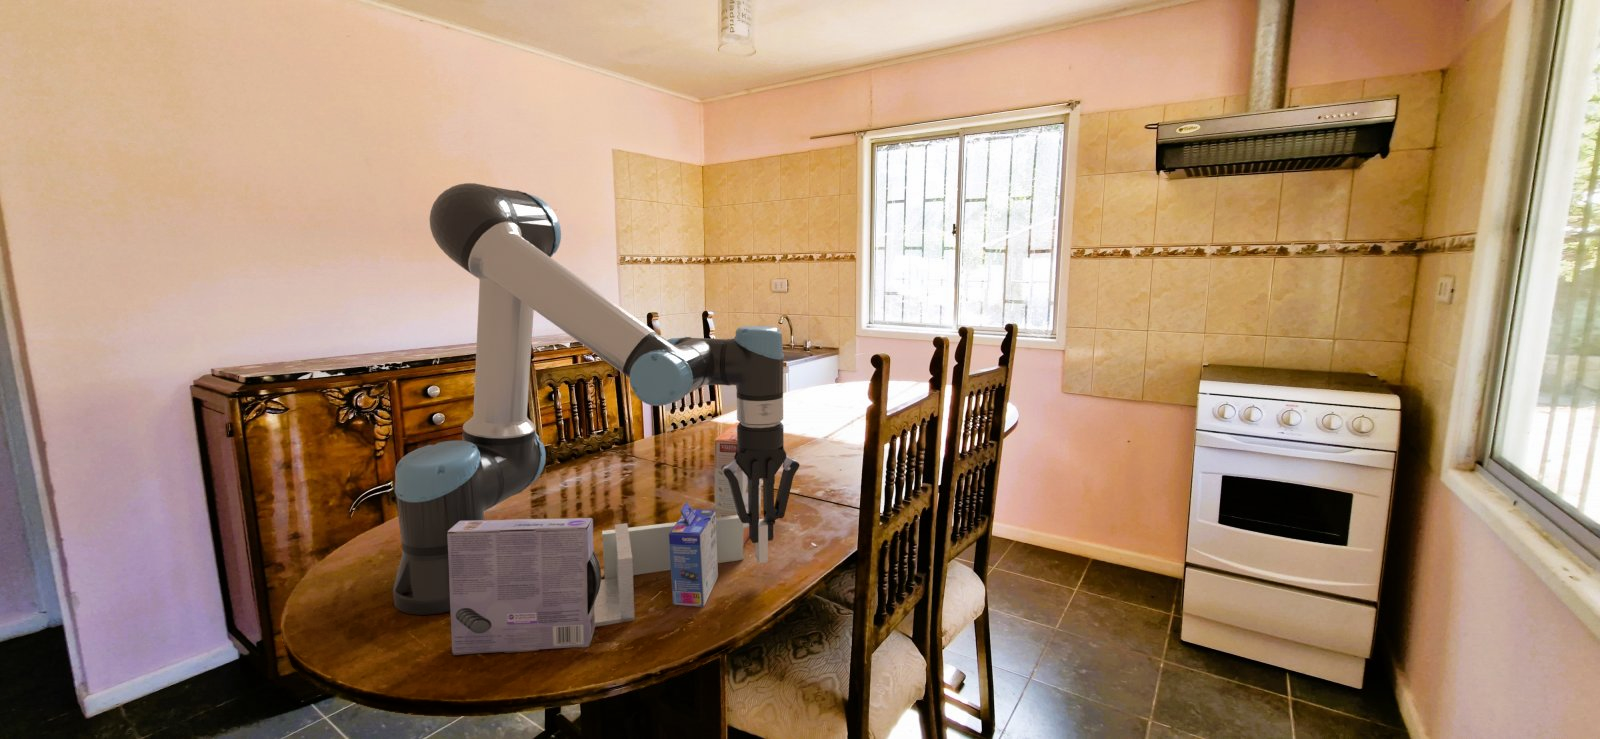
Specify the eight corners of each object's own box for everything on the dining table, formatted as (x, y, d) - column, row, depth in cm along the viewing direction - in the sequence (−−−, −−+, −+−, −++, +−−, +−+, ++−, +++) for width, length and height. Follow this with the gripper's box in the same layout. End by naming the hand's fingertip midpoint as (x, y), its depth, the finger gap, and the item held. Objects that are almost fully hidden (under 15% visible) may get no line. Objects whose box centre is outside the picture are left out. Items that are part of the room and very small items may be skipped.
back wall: (604, 579, 105) (602, 534, 104) (604, 575, 107) (602, 530, 106) (743, 559, 113) (743, 517, 112) (741, 555, 114) (741, 514, 113)
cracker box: (744, 549, 117) (743, 441, 114) (713, 545, 118) (712, 439, 115) (763, 519, 131) (763, 422, 127) (735, 517, 132) (734, 420, 129)
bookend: (577, 629, 91) (574, 565, 89) (579, 586, 103) (576, 529, 101) (634, 620, 93) (632, 557, 92) (629, 579, 106) (627, 523, 104)
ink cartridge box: (687, 575, 107) (685, 494, 105) (718, 576, 107) (717, 496, 104) (669, 605, 98) (667, 517, 95) (704, 608, 97) (702, 519, 95)
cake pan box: (604, 627, 92) (598, 513, 89) (597, 648, 87) (592, 527, 84) (465, 636, 89) (455, 519, 86) (450, 658, 84) (439, 534, 81)
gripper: (725, 431, 95) (728, 575, 99) (805, 424, 100) (805, 563, 103) (715, 419, 103) (718, 554, 106) (791, 414, 107) (791, 544, 110)
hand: (761, 558), depth 105 cm, fingers closed
